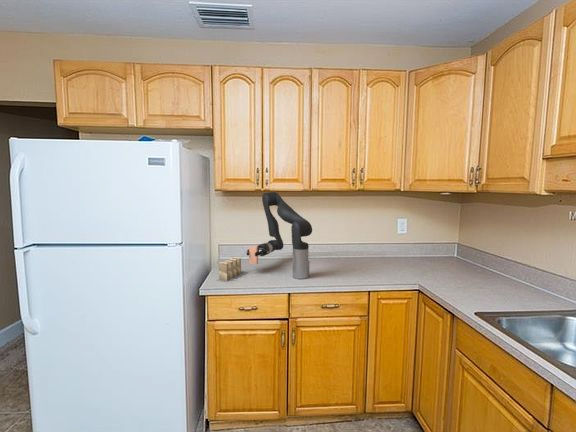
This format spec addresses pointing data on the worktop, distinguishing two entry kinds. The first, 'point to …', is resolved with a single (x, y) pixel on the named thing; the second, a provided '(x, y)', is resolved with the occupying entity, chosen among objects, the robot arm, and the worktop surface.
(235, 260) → the maple domino
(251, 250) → the terracotta domino
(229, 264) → the maple domino
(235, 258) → the maple domino
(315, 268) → the worktop surface
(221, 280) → the mat
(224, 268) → the maple domino
